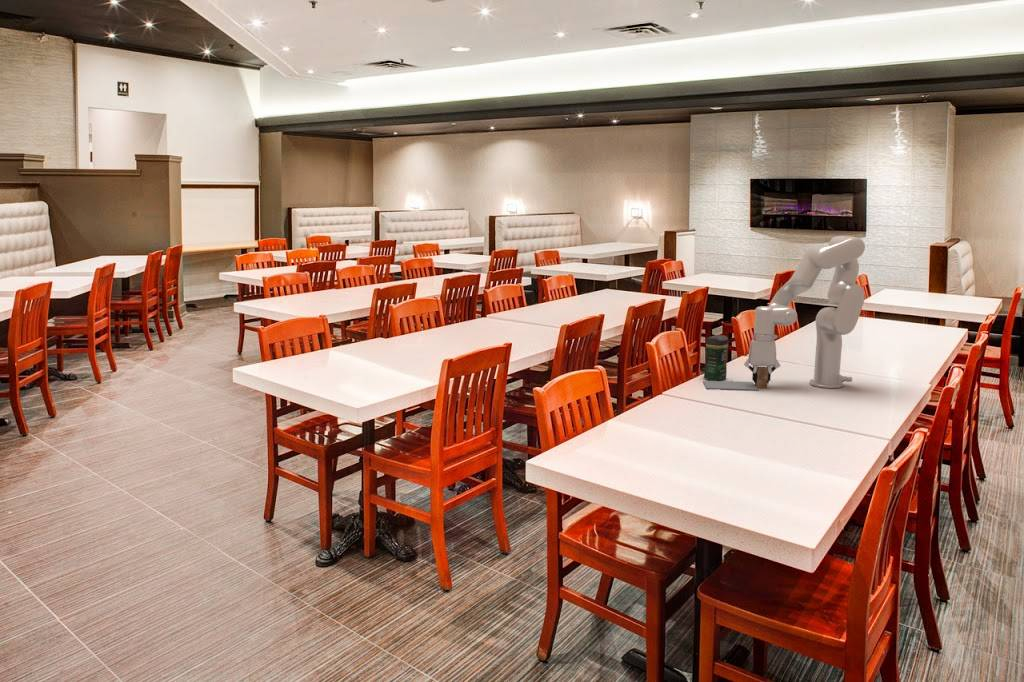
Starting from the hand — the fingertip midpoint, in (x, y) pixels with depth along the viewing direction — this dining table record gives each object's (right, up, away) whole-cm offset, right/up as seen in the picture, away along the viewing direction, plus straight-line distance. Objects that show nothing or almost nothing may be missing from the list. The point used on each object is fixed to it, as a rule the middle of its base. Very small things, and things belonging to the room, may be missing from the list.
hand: (761, 382), depth 302 cm
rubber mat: (-12, -2, +2) cm, 12 cm away
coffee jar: (-14, 0, +15) cm, 21 cm away
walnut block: (0, -2, 0) cm, 2 cm away
